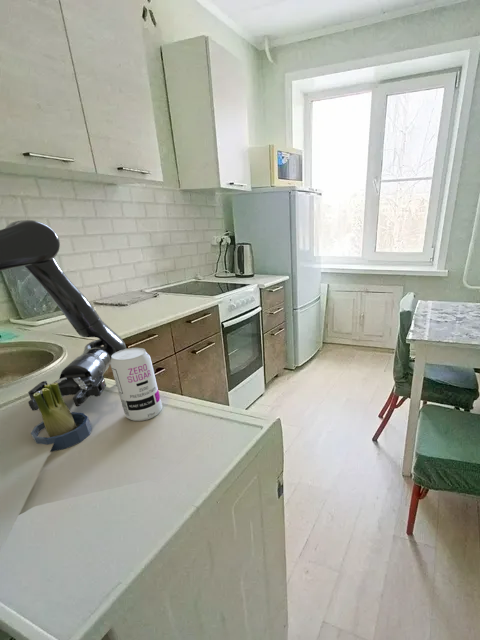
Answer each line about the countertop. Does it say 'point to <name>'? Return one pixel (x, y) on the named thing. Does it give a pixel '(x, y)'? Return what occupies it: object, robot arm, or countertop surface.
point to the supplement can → (136, 383)
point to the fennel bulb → (54, 411)
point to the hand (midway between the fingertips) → (54, 404)
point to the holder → (67, 438)
